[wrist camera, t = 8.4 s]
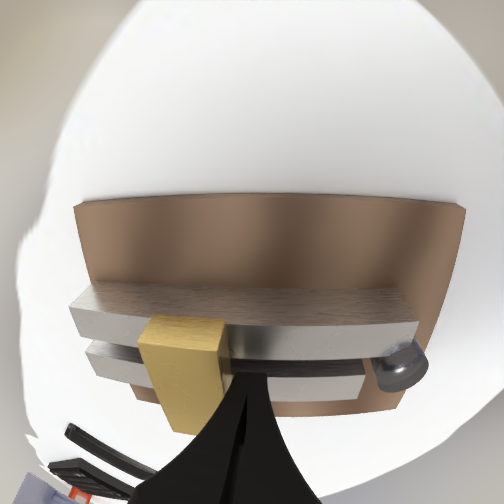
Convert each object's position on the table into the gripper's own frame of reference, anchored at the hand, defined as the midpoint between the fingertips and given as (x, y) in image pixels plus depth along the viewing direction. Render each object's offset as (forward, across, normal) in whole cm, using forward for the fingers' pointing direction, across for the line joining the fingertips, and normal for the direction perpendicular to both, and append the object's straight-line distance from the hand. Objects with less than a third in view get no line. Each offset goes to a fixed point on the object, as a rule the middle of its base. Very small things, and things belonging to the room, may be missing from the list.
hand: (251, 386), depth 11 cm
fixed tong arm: (+4, 0, 0) cm, 4 cm away
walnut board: (+5, 0, +1) cm, 5 cm away
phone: (+6, +23, +30) cm, 38 cm away
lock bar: (+1, +3, 0) cm, 3 cm away
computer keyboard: (+6, +46, +62) cm, 78 cm away
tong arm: (+4, +2, +1) cm, 5 cm away
